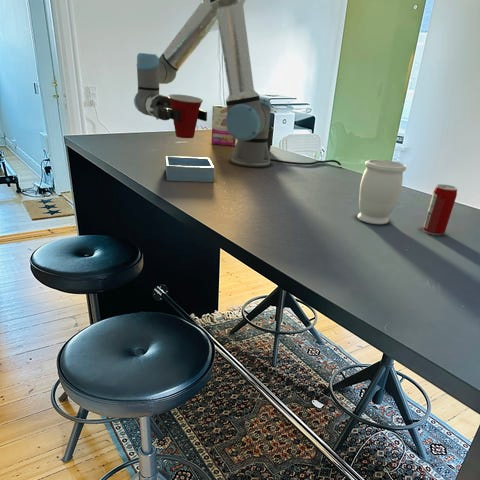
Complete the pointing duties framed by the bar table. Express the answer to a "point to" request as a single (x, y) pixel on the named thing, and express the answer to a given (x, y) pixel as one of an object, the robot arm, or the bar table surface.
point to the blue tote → (189, 169)
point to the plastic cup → (185, 114)
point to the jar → (379, 190)
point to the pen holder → (269, 137)
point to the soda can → (440, 209)
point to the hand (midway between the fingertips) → (192, 116)
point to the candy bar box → (221, 127)
